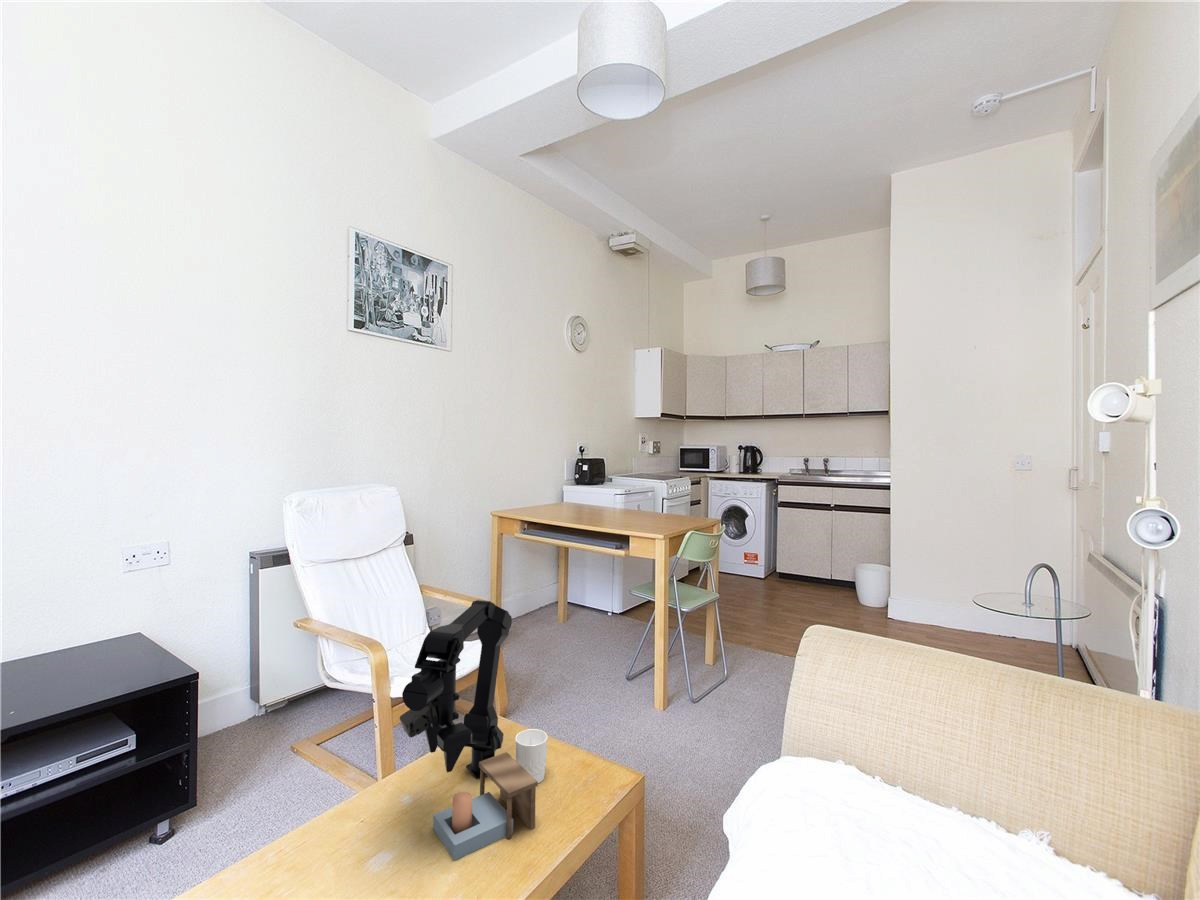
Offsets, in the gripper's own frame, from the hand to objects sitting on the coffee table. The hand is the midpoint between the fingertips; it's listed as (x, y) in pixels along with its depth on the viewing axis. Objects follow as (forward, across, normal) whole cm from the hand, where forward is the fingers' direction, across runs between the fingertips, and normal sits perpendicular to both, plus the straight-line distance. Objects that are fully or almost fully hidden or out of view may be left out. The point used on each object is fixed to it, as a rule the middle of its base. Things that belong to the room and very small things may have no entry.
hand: (440, 761), depth 118 cm
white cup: (+13, -2, +24) cm, 27 cm away
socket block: (+13, +7, +5) cm, 15 cm away
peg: (+13, +7, +2) cm, 15 cm away
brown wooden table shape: (+13, +7, +12) cm, 19 cm away
